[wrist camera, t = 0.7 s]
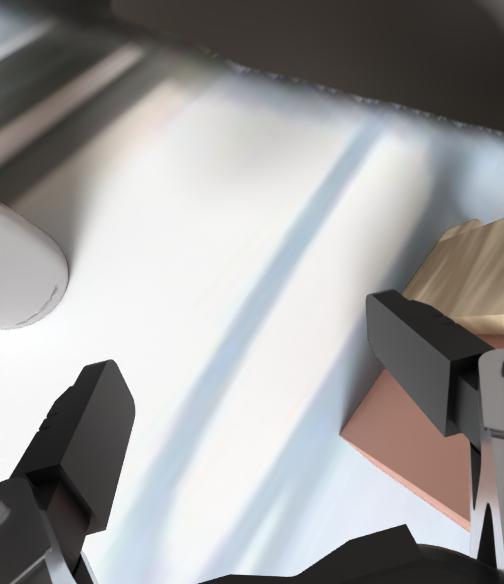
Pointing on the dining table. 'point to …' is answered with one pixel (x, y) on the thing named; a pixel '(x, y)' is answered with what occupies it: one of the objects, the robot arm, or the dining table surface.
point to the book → (414, 445)
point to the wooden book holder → (465, 277)
